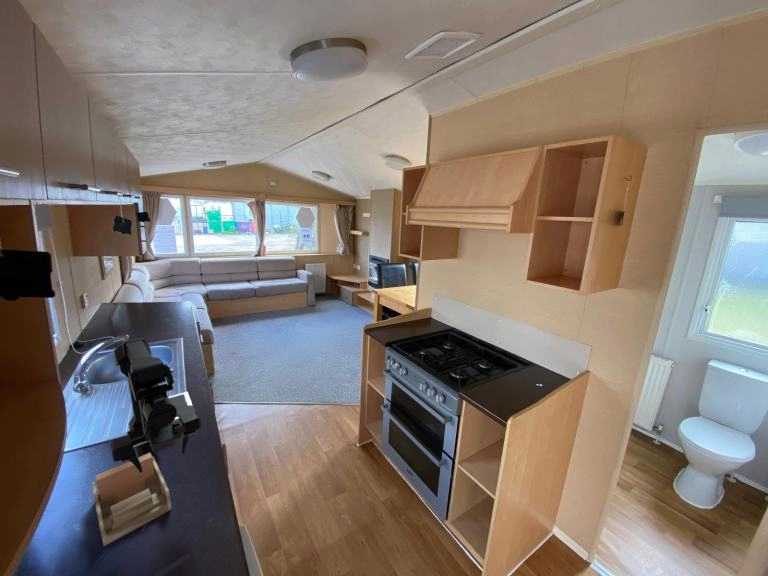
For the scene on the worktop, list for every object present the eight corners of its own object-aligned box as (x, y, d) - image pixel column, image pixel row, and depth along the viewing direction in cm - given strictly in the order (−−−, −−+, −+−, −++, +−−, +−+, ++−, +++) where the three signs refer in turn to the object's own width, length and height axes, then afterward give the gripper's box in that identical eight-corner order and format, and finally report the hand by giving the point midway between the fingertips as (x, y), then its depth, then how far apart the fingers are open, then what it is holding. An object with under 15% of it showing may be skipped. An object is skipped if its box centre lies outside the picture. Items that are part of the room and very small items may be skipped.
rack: (96, 504, 88) (91, 482, 87) (156, 475, 98) (153, 456, 97) (104, 549, 76) (99, 525, 75) (172, 511, 86) (168, 490, 85)
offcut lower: (111, 524, 81) (109, 516, 81) (157, 500, 88) (156, 492, 88) (113, 534, 79) (111, 526, 78) (161, 509, 86) (159, 501, 85)
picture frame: (195, 417, 129) (188, 395, 144) (195, 411, 128) (187, 389, 144) (148, 432, 119) (145, 407, 135) (146, 426, 118) (144, 401, 134)
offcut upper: (111, 514, 81) (110, 506, 81) (149, 495, 87) (148, 488, 86) (114, 525, 79) (112, 516, 78) (153, 504, 84) (151, 496, 84)
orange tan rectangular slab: (101, 507, 86) (95, 475, 84) (154, 481, 95) (150, 452, 93) (103, 512, 85) (96, 480, 82) (156, 486, 93) (152, 456, 91)
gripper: (110, 442, 69) (121, 502, 72) (204, 407, 82) (210, 460, 85) (105, 419, 77) (115, 475, 80) (192, 391, 90) (198, 440, 93)
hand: (162, 462), depth 84 cm, fingers open, 9 cm apart
